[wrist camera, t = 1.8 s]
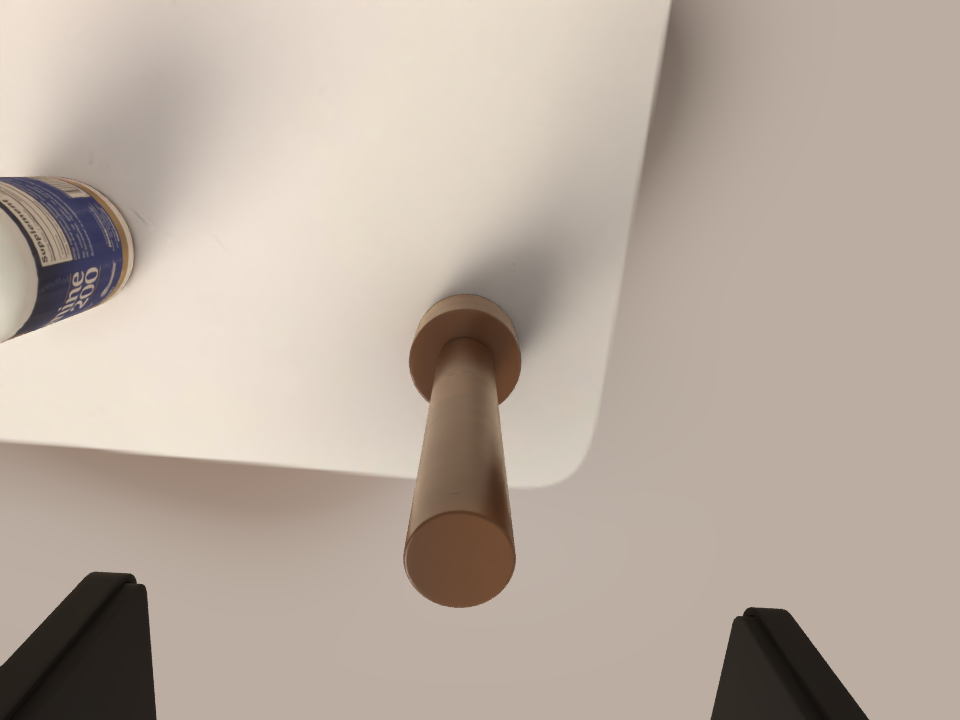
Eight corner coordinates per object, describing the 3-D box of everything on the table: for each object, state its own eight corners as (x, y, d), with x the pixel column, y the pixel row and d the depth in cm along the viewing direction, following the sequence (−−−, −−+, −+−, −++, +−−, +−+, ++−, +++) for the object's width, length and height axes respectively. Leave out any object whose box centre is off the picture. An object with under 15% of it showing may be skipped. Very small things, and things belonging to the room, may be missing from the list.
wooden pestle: (521, 298, 27) (585, 466, 12) (511, 394, 28) (558, 660, 13) (418, 290, 27) (348, 450, 12) (412, 387, 28) (344, 648, 13)
